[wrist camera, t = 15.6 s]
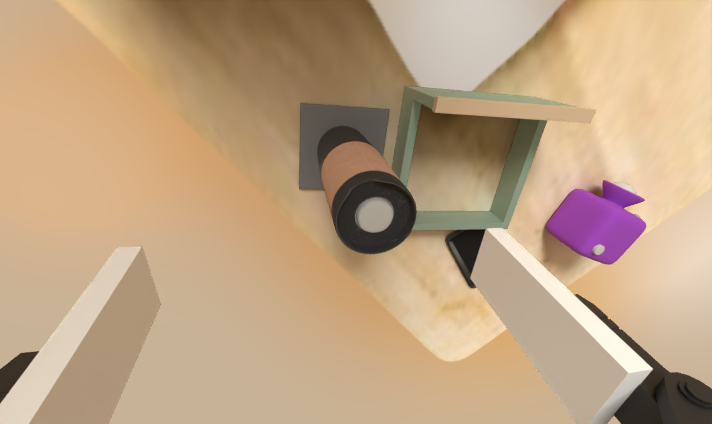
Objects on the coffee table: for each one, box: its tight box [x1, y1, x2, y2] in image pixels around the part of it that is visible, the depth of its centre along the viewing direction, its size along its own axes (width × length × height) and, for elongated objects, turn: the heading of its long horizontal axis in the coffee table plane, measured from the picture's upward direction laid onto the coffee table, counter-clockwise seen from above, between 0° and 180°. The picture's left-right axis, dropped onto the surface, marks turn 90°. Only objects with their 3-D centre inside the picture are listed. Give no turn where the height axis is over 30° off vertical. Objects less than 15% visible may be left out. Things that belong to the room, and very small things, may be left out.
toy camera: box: [546, 180, 646, 264], centre depth 55 cm, size 11×14×10 cm
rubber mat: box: [299, 103, 389, 189], centre depth 45 cm, size 12×12×1 cm
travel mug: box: [317, 126, 417, 254], centre depth 37 cm, size 8×8×20 cm
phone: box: [445, 229, 486, 288], centre depth 60 cm, size 8×1×15 cm
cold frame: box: [392, 86, 596, 230], centre depth 45 cm, size 21×20×11 cm
